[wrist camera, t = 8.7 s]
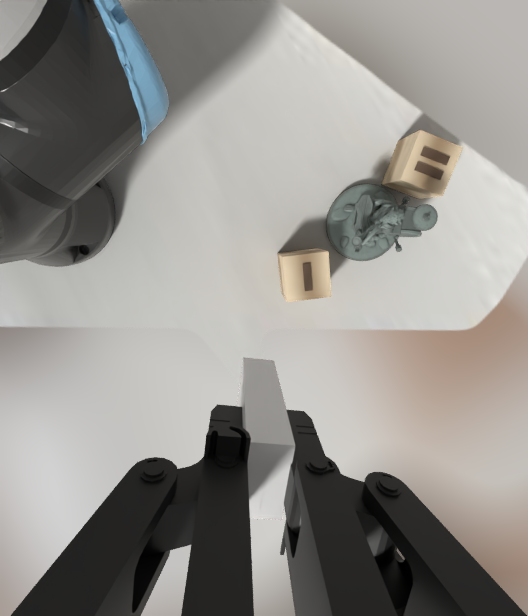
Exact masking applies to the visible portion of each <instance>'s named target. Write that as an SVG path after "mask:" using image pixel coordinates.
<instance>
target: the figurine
mask: <svg viewBox="0 0 528 616" xmlns="http://www.w3.org/2000/svg"><path fill="white" fill-rule="evenodd" d="M409 200H410V198H409V197H405V198H404V199H403V201H402V202H403V203H402V205H398V203H397V201H396V199H395V198H394V197H393V195H392V194H391V193H390V192H388V191H387V190H386V189H384V188H382V187H380V186H377V185H373V184H361V185H357V186H354V187H351V188H349V189H347V190H345V191H344V192H342V193H341V194H340V195H339V196H338V197H337V198H336V199H335V201H334V202H333V204H332V205H331V207H330V210H329V212H328V216H327V222H326V228H327V234H328V238H329V240H330V242H331V244H332V246H333V247H334V248H335V250H336V251H337V252H339V253H340V254H341V255H343V256H344V257H346V258H349V259H352V260H356V261H368V260H372V259H375V258H377V257H379V256H381V255H383V254H384V253H385V252H386V251H388V250H389V249H390V248H391V246H392V245H393V244H394V242H395V243H396V247H395V248H396V251H397V252H400V251H401V250H402V248H401V245H399V244H398V241H397V239H398V237H419V236H421V234H422V233H421V231H426V230H429V229H431V228H432V227H434V225H435V224H436V222H437V217H438V216H437V211H436V210H435V208H434V207H433V206H431V205H428V204H423V205H420V206H418V207H407V206H405V204H407V203H408V201H409Z"/></svg>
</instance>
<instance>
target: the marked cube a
mask: <svg viewBox="0 0 528 616" xmlns="http://www.w3.org/2000/svg"><path fill="white" fill-rule="evenodd" d="M278 263H279V273H280V283H281V293H282V295H283V297H284V298H285V300H286V302H292V301H300V300H308V299H316V298H324V297H331V282H330V267H329V251H326V250H323V249H319V248H315V249H307V250H298V251H290V252H282V253H278Z"/></svg>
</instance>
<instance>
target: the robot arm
mask: <svg viewBox="0 0 528 616" xmlns="http://www.w3.org/2000/svg"><path fill="white" fill-rule="evenodd" d="M168 107H169V98H168V93H167V89H166V86H165V84H164V81H163V79H162V77H161V74H160V72H159V70H158V68H157V66H156V64H155V62H154V60H153V58H152V56H151V54H150V52H149V50H148V49H147V47H146V45H145V43H144V41H143V39H142V38H141V36H140V34H139V32H138V31H137V29H136V27H135V26H134V24H133V22H132V21H131V20H130V19H129V18H128V17H127V16H126V14H125V11H124V9H123V7H122V6H121V4H120V2H119V1H118V0H0V264H2V263H8V262H13V261H19V260H25V259H26V260H28V261H31V262H34V263H37V264H40V265H45V266H54V267H60V266H69V265H73V264H77V263H81V262H84V261H86V260H88V259H90V258H92V257H93V256H95V255H96V254H97V253H99V252H100V251H101V250H102V249H103V248H104V246H105V245H106V244H107V242H108V240H109V238H110V236H111V234H112V231H113V228H114V223H115V207H114V201H113V197H112V194H111V192H110V189H109V187H108V185H107V183H106V182H105V180H104V178H103V177H104V176H105V175H106V174H107V173H108V172H109V171H111V170H112V169H113V168H114V167H115V166H116V165H117V164H118V163H119V162H121V161H122V160H123V159H124V158H125V157H126V156H127V155H128V154H129V153H130V152H132V151H133V150H134V149H135V148H136V147H137V146H138V145H142V144H143V143H145V140H147V136H148V135H149V134H150V133H151V132H152V131H153V130H154V129H155V128H156V127H157V126H158V125H159V124H160V123H161V122H162V121H163V120H164V119H165V117H166V115H167V111H168ZM284 507H285V512H286V524H285V529H284V534H283V539H282V545H281V552H280V554H281V555H284V552H285V547H286V552H287V558H288V566H289V572H290V580H291V587H292V593H293V601H294V607H295V614H296V616H527V615H526V614H525V613H524V612H523V611H522V610H521V609H520V608H519V607H518V605H517V604H516V603H515V602H514V601H513V600H512V599H511V598H510V597H509V596H508V595H507V594H506V593H505V591H504V590H503V589H502V588H501V587H500V586H499V585H498V584H497V583H496V582H495V581H494V580H493V578H491V576H490V575H489V574H488V573H487V572H486V571H485V570H484V569H483V568H482V567H481V566H480V565H479V563H478V562H477V561H476V560H475V559H474V558H473V557H472V556H471V555H470V554H469V553H468V552H467V551H466V549H465V548H464V547H463V546H462V545H461V544H460V543H459V542H458V541H457V540H456V539H455V538H454V536H453V535H452V534H451V533H450V532H449V531H448V530H447V529H446V528H445V527H444V526H443V524H442V523H441V522H440V521H439V520H438V519H437V518H436V517H435V516H434V515H433V514H432V513H431V512H430V510H429V509H428V508H427V507H426V506H425V505H424V504H423V503H422V502H421V501H420V500H419V499H418V497H417V496H415V494H414V493H413V492H412V491H411V490H410V489H409V488H408V487H407V486H406V485H405V484H404V483H403V482H402V481H401V480H399V479H397V478H396V477H394V476H392V475H390V474H387V473H383V472H373V473H370V474H368V475H367V477H366V478H365V482H361V481H358V480H355V479H352V478H348V477H346V476H344V475H342V474H340V471H339V469H338V467H337V465H336V464H335V463H334V462H333V461H332V460H331V459H329V458H328V457H326V456H325V454H324V451H323V449H322V446H321V443H320V441H319V438H318V436H317V432H316V430H315V428H314V424H313V422H312V419H311V418H310V417H309V416H308V415H307V414H306V413H305V412H304V411H294V410H286V406H285V403H284V399H283V395H282V391H281V387H280V383H279V379H278V375H277V371H276V367H275V363H274V361H272V360H262V359H253V358H243V364H242V371H241V379H240V386H239V394H238V402H237V406H227V405H217V406H216V407H215V408H214V409H213V410H212V411H211V417H210V424H209V431H208V433H207V435H206V445H205V454H204V457H203V458H202V459H201V460H200V461H199V462H198V463H196V464H194V465H192V466H189V467H185V468H180V469H177V467H176V465H175V464H173V462H172V461H170V460H167V459H165V458H157V457H154V458H148V459H145V460H142V461H140V462H138V463H136V464H135V465H134V466H133V467H132V468H131V469H130V470H129V471H128V473H127V474H126V475H125V476H124V478H123V479H122V480H121V481H120V482H119V483H118V485H117V486H116V487H115V488H114V490H113V491H112V492H111V493H110V495H109V496H108V497H107V498H106V499H105V501H104V502H103V503H102V504H101V506H100V507H99V508H98V509H97V510H96V512H95V513H94V514H93V515H92V517H91V518H90V519H89V520H88V522H87V523H86V524H85V525H84V526H83V528H82V529H81V530H80V531H79V532H78V534H77V535H76V536H75V538H74V539H73V540H72V541H71V542H70V544H69V545H68V546H67V547H66V549H65V550H64V551H63V552H62V553H61V555H60V556H59V557H58V558H57V560H56V561H55V562H54V563H53V564H52V566H51V567H50V568H49V570H47V572H46V573H45V574H44V576H43V577H42V578H41V579H40V580H39V582H38V583H37V584H36V586H34V588H33V589H32V590H31V591H30V593H29V594H28V595H27V596H26V597H25V599H24V600H23V601H22V603H21V604H20V605H19V606H18V607H17V608H16V610H15V611H14V612H13V613H12V615H11V616H141V613H142V611H143V609H144V607H145V605H146V603H147V601H148V599H149V597H150V595H151V592H152V590H153V588H154V586H155V584H156V582H157V580H158V578H159V576H160V574H161V571H162V569H163V567H164V565H165V563H166V561H167V559H168V557H169V553H170V550H173V549H176V548H180V547H184V546H187V545H191V544H192V545H191V552H190V559H189V566H188V573H187V580H186V587H185V593H184V600H183V608H182V615H181V616H254V609H253V584H252V560H251V537H250V518H258V519H275V520H276V519H277V520H282V517H283V511H284ZM397 548H398V549H399V551H400V552H401V554H402V555H403V556H404V558H405V560H403V559H402V558H401V556H400V555H399V554H398V552H397Z"/></svg>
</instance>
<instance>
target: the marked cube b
mask: <svg viewBox="0 0 528 616" xmlns="http://www.w3.org/2000/svg"><path fill="white" fill-rule="evenodd" d="M462 149H463V147H461V146H459V145H456V144H454V143H451V142H449V141H446V140H444V139H442V138H439V137H437V136H434V135H432V134H429V133H427V132H425V131H422V130H419V131H417V132H415V133H413V134H411V135H409V136H407V137H405V138H403V139H401V140H399V141H398V143H397V145H396V148H395V150H394V153H393V156H392V158H391V161H390V163H389V166H388V169H387V171H386V174H385V176H384V179H383V182H382V184H381V185H383V186H386V187H389V188H391V189H394V190H397V191H399V192H402V193H405V194H407V195H410V196H412V197H415V198H418V199H422V198H430V197H438V196H443V194H444V191H445V189H446V187H447V184H448V182H449V180H450V177H451V175H452V173H453V170H454V168H455V166H456V163H457V161H458V158H459V156H460V154H461V151H462Z"/></svg>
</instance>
